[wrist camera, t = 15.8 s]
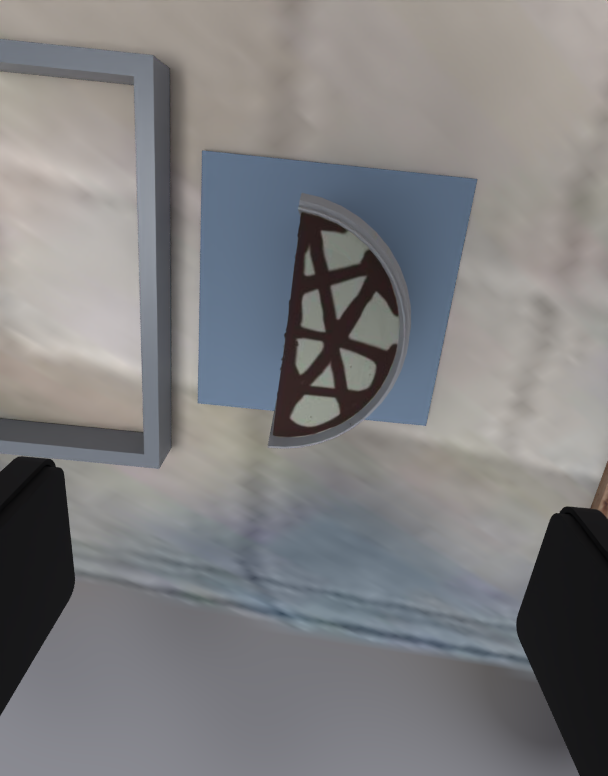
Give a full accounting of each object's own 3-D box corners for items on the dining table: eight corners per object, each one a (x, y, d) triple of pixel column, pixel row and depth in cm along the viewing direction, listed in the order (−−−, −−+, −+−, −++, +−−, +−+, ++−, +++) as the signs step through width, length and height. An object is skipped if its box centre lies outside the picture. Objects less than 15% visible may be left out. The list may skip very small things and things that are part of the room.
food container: (369, 395, 34) (388, 473, 25) (280, 383, 34) (266, 457, 25) (408, 206, 30) (449, 215, 20) (305, 191, 30) (299, 193, 20)
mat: (203, 151, 29) (202, 150, 29) (474, 179, 30) (477, 179, 29) (199, 400, 35) (197, 403, 35) (424, 422, 36) (425, 425, 35)
